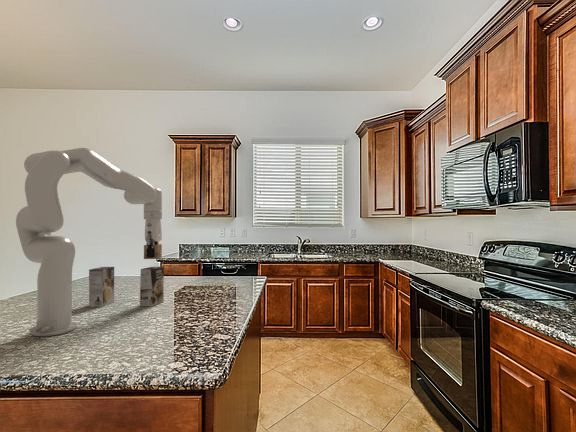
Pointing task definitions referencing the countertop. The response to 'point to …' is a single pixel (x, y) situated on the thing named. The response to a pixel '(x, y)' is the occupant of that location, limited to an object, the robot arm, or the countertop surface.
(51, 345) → the countertop surface
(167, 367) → the countertop surface
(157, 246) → the tan cube
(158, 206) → the robot arm
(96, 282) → the coffee box
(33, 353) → the countertop surface
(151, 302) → the coffee box
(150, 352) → the countertop surface
